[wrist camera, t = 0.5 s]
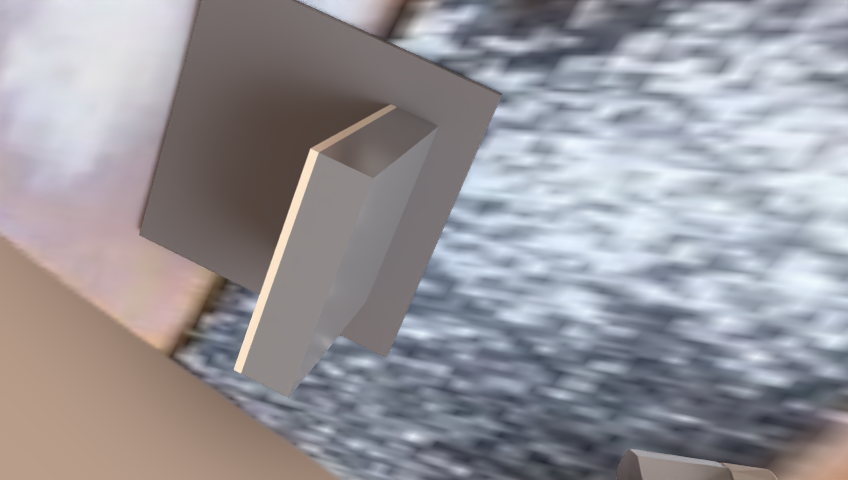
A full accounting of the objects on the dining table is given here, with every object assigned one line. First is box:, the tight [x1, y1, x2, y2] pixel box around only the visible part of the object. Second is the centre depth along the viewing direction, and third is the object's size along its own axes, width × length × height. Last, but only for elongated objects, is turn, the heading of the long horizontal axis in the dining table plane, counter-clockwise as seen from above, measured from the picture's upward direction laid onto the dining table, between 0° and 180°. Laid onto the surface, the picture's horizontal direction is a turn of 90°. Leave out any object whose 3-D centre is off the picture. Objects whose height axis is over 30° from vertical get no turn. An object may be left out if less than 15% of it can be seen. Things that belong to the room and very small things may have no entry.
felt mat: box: [139, 0, 502, 357], centre depth 48 cm, size 18×18×1 cm
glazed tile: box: [234, 104, 439, 398], centre depth 41 cm, size 12×3×12 cm, turn 158°
